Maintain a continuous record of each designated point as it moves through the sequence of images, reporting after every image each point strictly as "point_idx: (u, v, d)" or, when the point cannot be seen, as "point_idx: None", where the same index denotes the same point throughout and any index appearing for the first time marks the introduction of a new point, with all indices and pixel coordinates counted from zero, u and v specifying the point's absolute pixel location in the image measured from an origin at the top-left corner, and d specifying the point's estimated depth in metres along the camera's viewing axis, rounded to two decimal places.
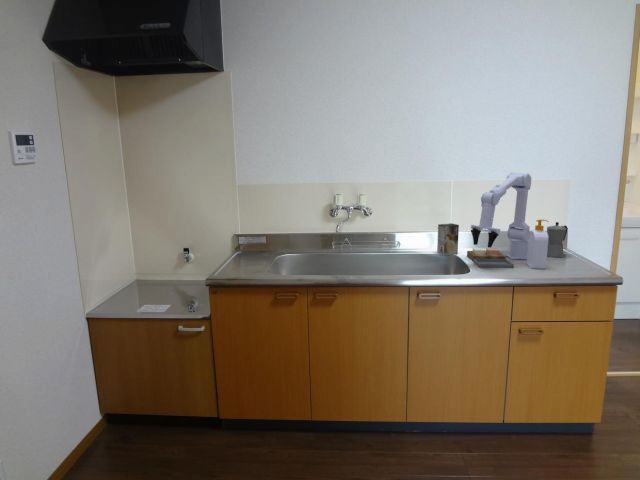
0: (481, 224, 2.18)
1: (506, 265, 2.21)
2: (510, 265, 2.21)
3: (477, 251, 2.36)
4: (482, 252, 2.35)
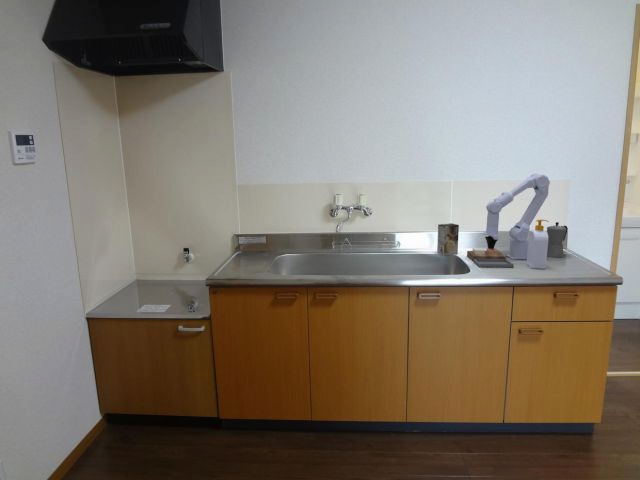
0: (486, 231, 2.39)
1: (506, 265, 2.21)
2: (510, 265, 2.21)
3: (477, 251, 2.36)
4: (482, 252, 2.35)
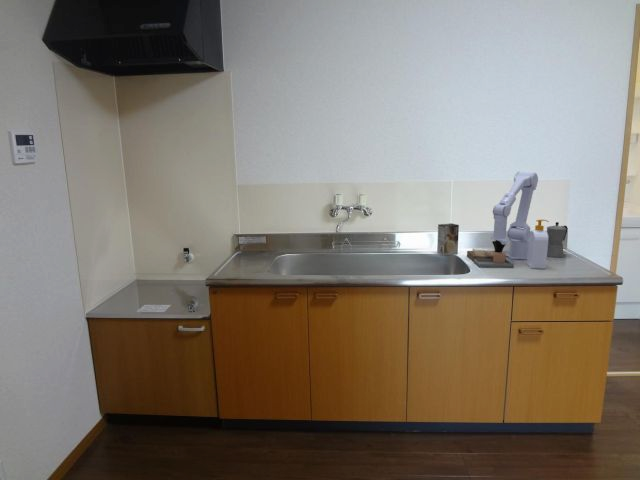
0: (493, 235, 2.28)
1: (506, 265, 2.21)
2: (510, 265, 2.21)
3: (477, 251, 2.36)
4: (482, 252, 2.35)
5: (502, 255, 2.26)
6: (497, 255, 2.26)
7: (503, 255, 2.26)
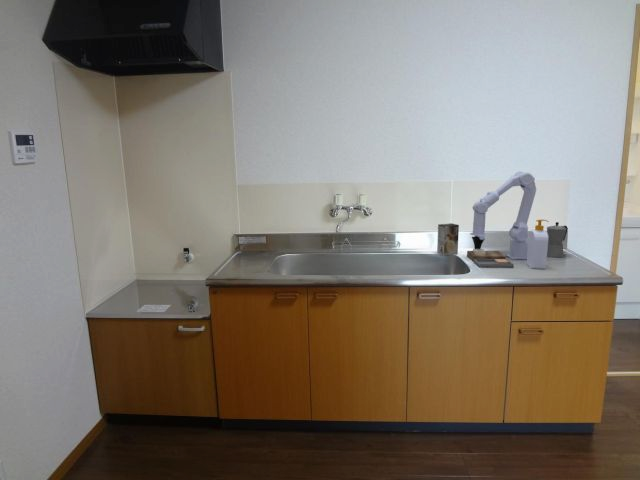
0: None
1: (506, 265, 2.21)
2: (510, 265, 2.21)
3: (478, 251, 2.34)
4: (483, 252, 2.34)
5: None
6: None
7: None
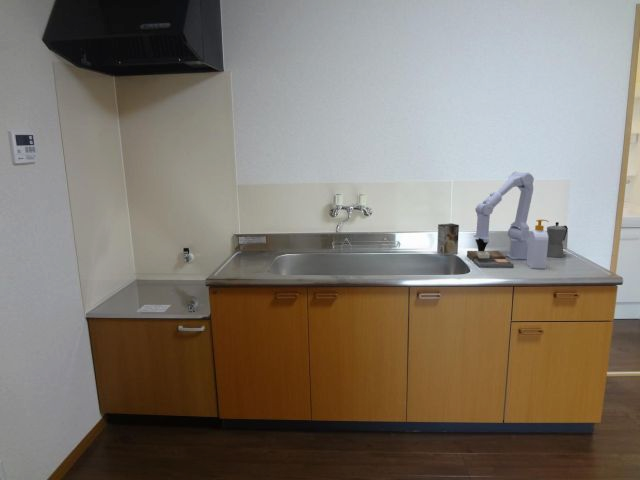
0: (476, 233, 2.33)
1: (506, 265, 2.21)
2: (510, 265, 2.21)
3: (481, 255, 2.28)
4: (486, 256, 2.28)
5: None
6: None
7: None
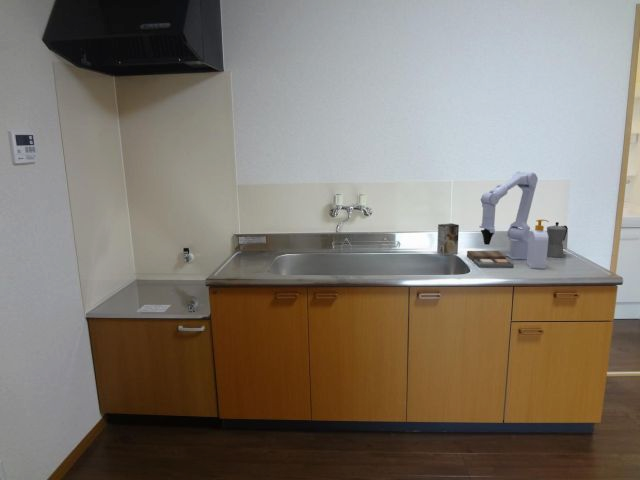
0: (482, 224, 2.28)
1: (506, 265, 2.21)
2: (510, 265, 2.21)
3: None
4: None
5: None
6: None
7: None
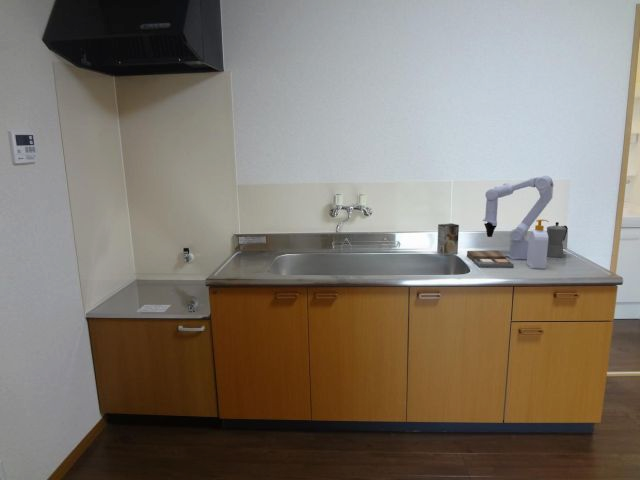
0: (485, 217, 2.46)
1: (506, 265, 2.21)
2: (510, 265, 2.21)
3: None
4: None
5: None
6: None
7: None
